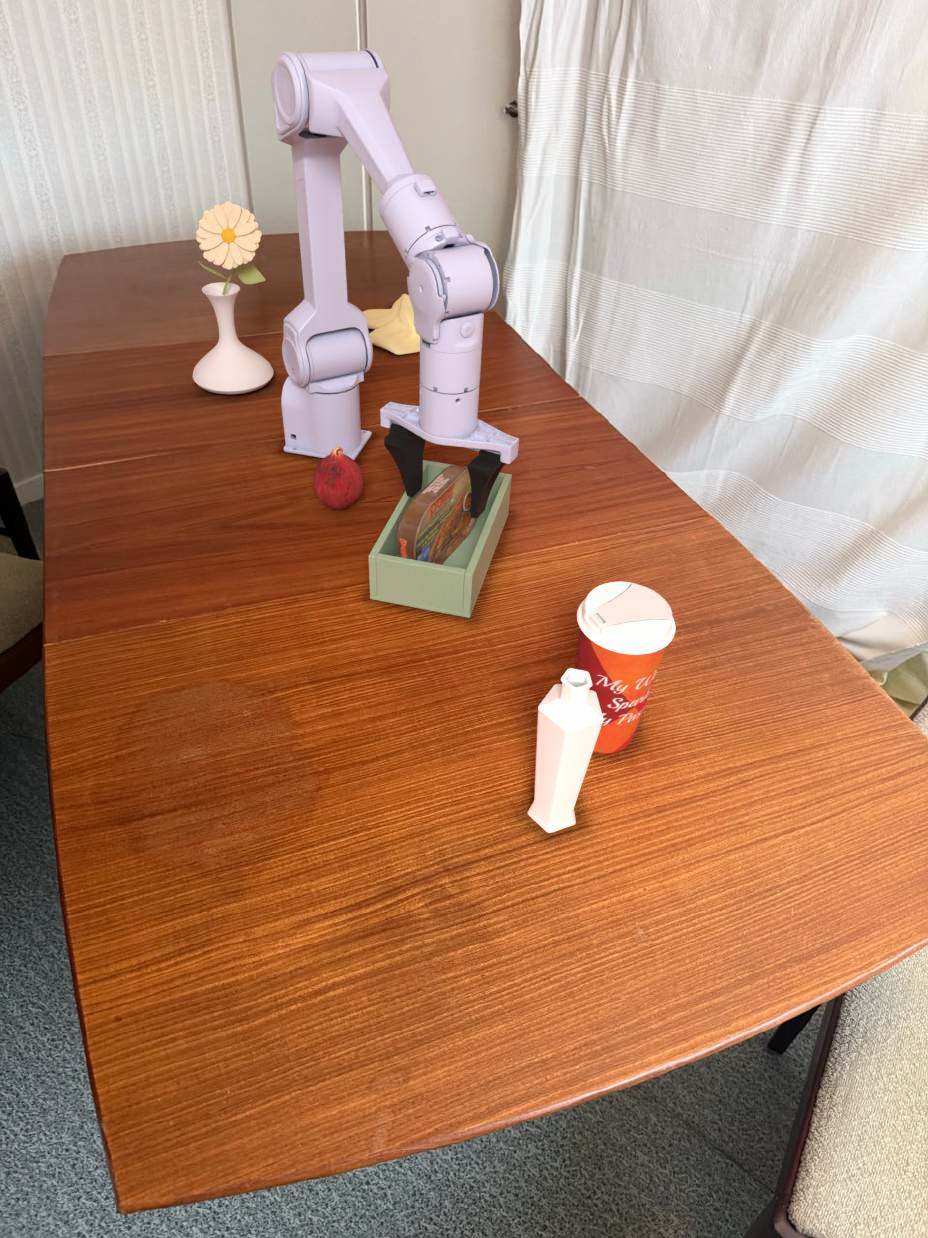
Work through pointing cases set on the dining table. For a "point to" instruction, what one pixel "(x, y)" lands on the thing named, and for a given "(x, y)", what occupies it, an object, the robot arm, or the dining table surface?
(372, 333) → the cloth
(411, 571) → the open rectangular box
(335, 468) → the pomegranate
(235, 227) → the flower in vase
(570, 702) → the white tall faceted bottle
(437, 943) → the dining table surface
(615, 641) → the paper cup
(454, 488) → the tin
